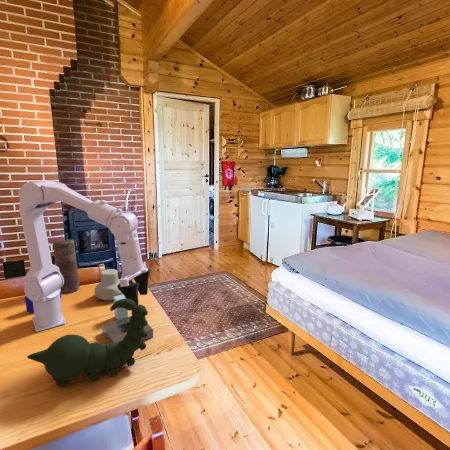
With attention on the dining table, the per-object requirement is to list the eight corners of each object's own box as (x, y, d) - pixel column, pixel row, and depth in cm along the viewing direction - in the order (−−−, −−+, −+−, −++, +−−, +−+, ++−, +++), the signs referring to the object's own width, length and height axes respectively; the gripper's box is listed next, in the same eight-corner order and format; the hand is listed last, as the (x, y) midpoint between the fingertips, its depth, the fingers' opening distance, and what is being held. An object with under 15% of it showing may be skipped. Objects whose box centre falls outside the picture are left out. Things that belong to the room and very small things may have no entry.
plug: (114, 316, 97) (113, 296, 95) (124, 313, 99) (123, 294, 97) (118, 320, 94) (116, 300, 93) (128, 317, 96) (126, 297, 95)
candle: (53, 292, 114) (47, 242, 109) (66, 285, 121) (61, 237, 116) (71, 294, 112) (66, 243, 108) (83, 286, 119) (79, 238, 115)
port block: (102, 332, 88) (101, 325, 87) (138, 321, 94) (138, 313, 94) (114, 351, 79) (114, 343, 79) (153, 337, 86) (152, 329, 86)
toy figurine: (139, 355, 81) (30, 377, 69) (143, 289, 77) (28, 300, 66) (148, 377, 72) (25, 406, 61) (152, 304, 69) (23, 320, 57)
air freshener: (128, 291, 115) (127, 267, 113) (123, 301, 107) (121, 275, 105) (99, 292, 114) (97, 267, 112) (91, 302, 106) (89, 276, 104)
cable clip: (50, 296, 111) (48, 281, 109) (61, 298, 110) (59, 282, 108) (23, 312, 99) (20, 296, 98) (34, 314, 98) (32, 297, 97)
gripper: (134, 262, 76) (143, 311, 79) (152, 246, 90) (159, 288, 93) (108, 264, 77) (118, 313, 79) (130, 249, 91) (138, 290, 94)
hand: (139, 300), depth 86 cm, fingers open, 7 cm apart
